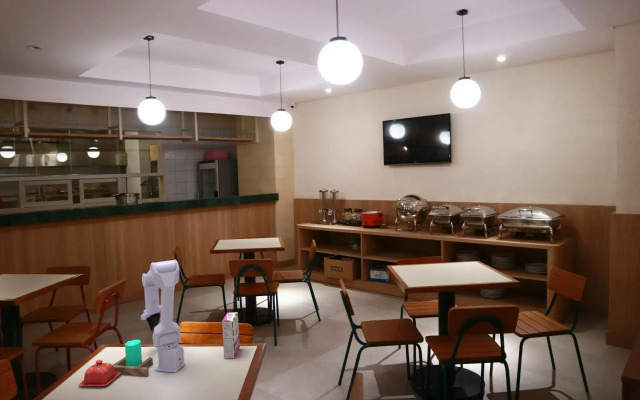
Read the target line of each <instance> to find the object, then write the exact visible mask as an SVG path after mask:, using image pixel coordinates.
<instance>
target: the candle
mask: <svg viewBox="0 0 640 400" xmlns="http://www.w3.org/2000/svg"><path fill="white" fill-rule="evenodd" d="M124 351H125V357H126V366H133V367H136V366H138V365H139V364H140V363H142V362H143V357H142V356H143V354H142V341H141V340H140V339H133V340H128V341H127V342H126V343H124Z"/></svg>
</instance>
